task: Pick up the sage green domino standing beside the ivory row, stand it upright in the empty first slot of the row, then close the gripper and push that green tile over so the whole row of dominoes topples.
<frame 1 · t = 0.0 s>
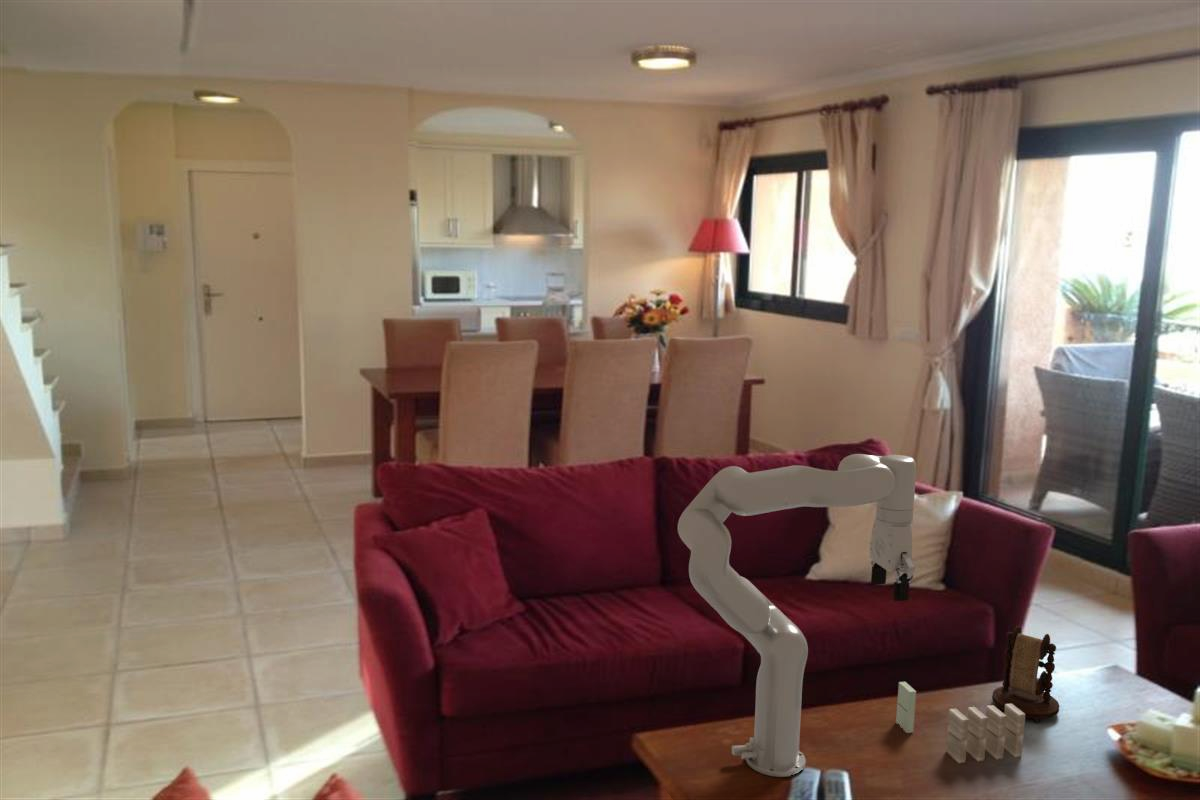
hand: (889, 591, 211), 37 cm above the table, tool pointing down, fingers open, 9 cm apart
domino 2: (955, 757, 215), on the table
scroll: (1024, 710, 237), on the table
domino 4: (992, 753, 217), on the table
domino 1: (904, 727, 228), on the table
domino 5: (1011, 751, 218), on the table
domino 3: (974, 755, 216), on the table
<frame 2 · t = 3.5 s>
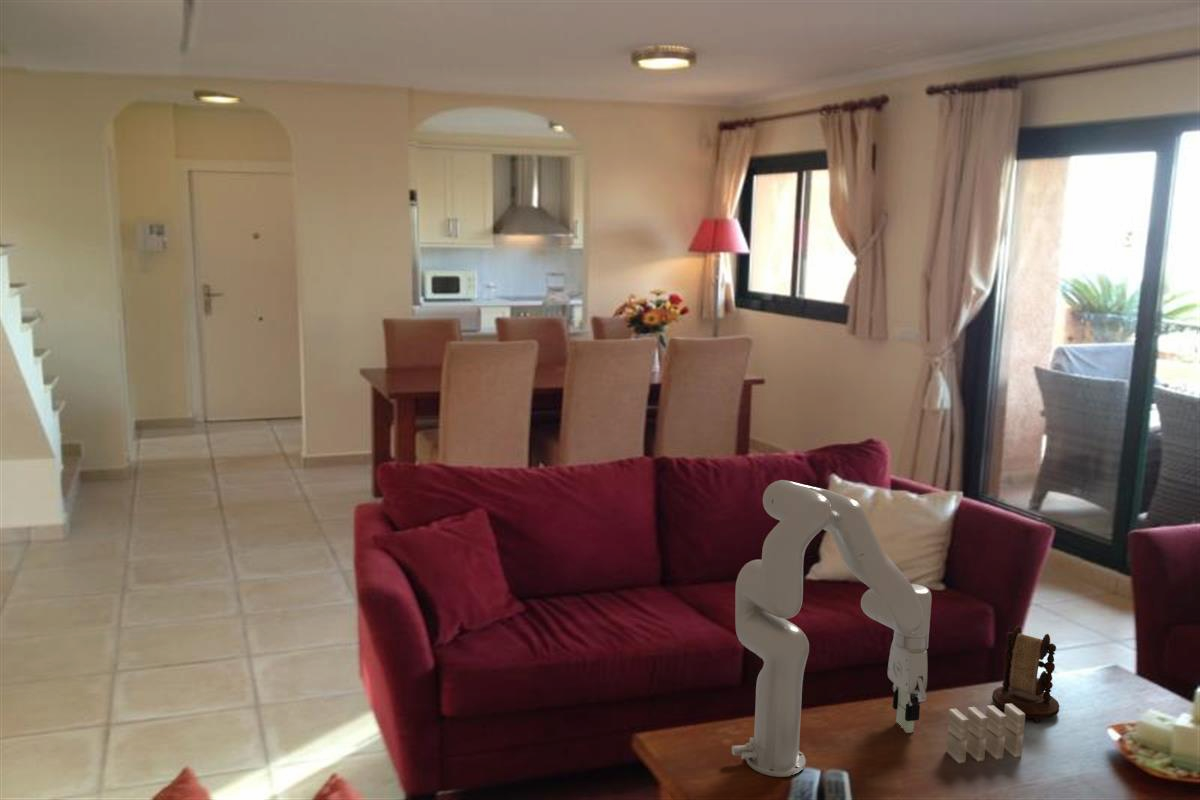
hand: (905, 713, 227), 3 cm above the table, tool pointing down, fingers closed on domino 1, 4 cm apart
domino 1: (904, 727, 228), on the table, touching gripper
everything else where it was.
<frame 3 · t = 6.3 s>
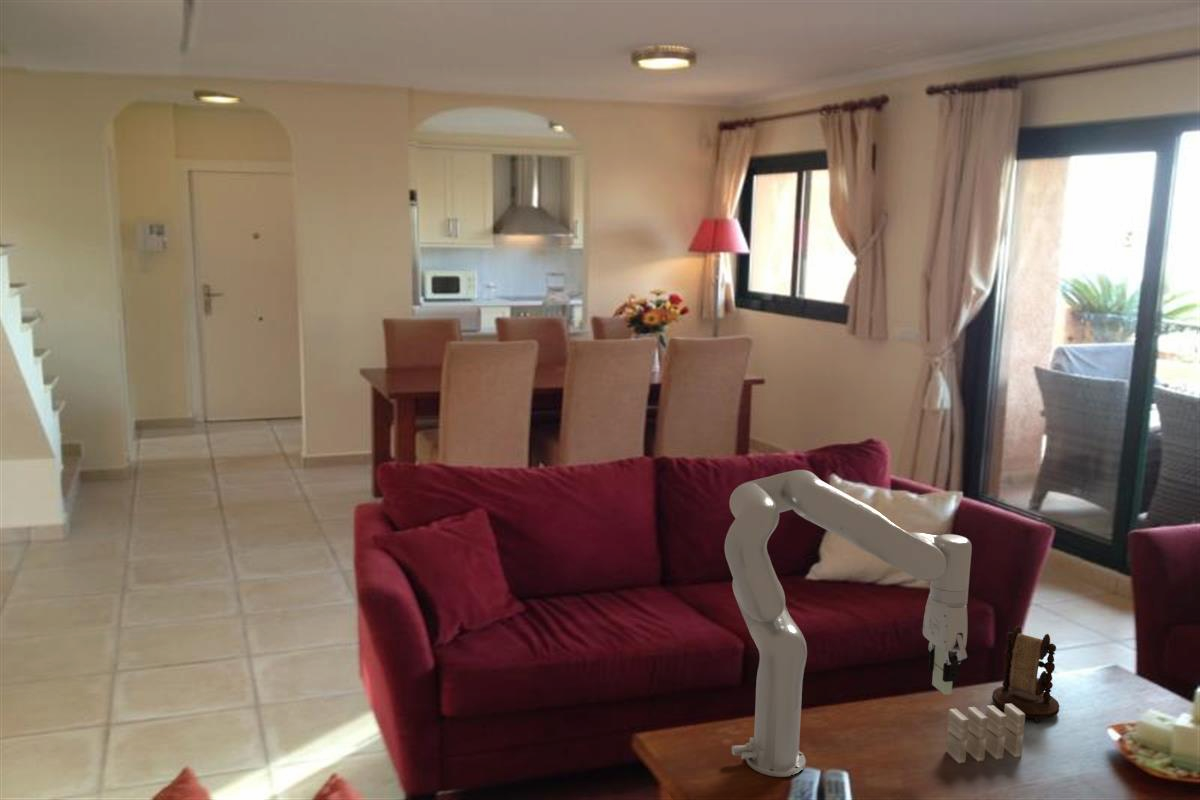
hand: (942, 674, 211), 19 cm above the table, tool pointing down, fingers closed on domino 1, 4 cm apart
domino 1: (941, 689, 212), point 16 cm above the table, touching gripper
everything else where it was.
when the fingers open (4 cm above the table, at t = 9.6 s): domino 1 stays where it is, on the table.
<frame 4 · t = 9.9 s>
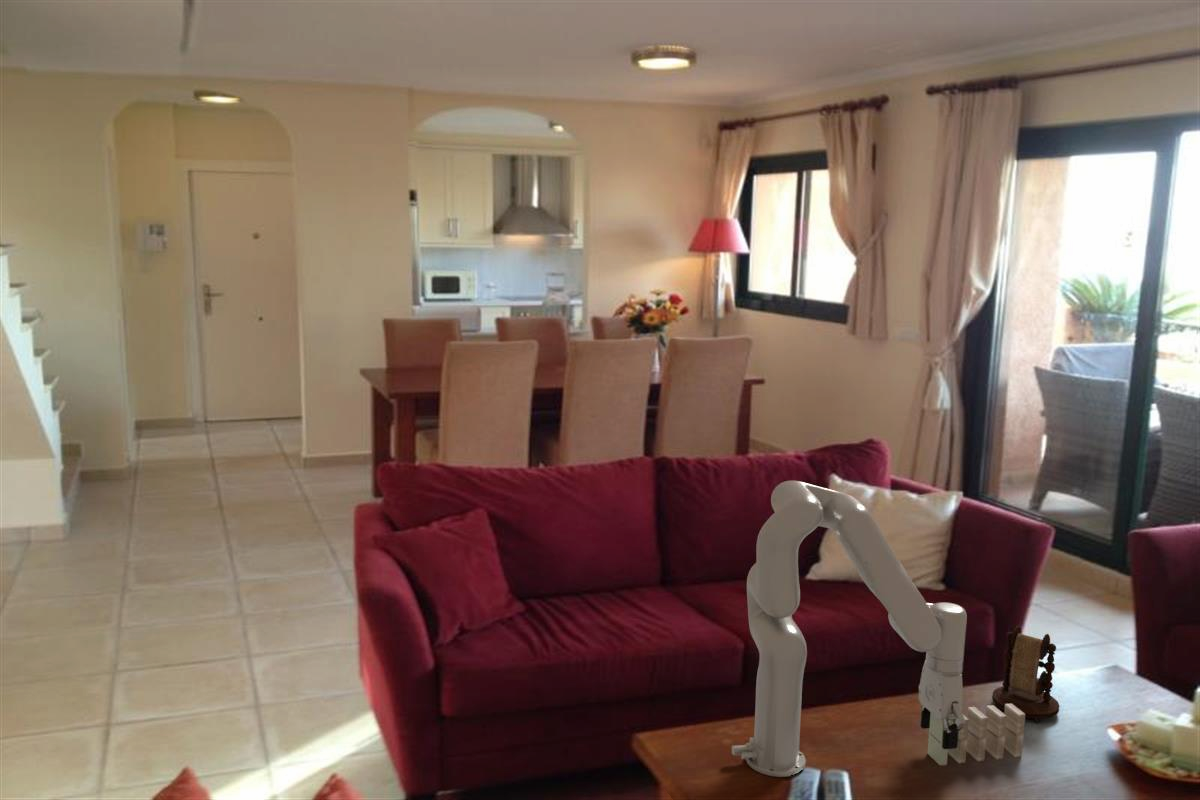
hand: (938, 737, 213), 5 cm above the table, tool pointing down, fingers open, 8 cm apart
domino 1: (937, 759, 214), on the table
everything else where it was.
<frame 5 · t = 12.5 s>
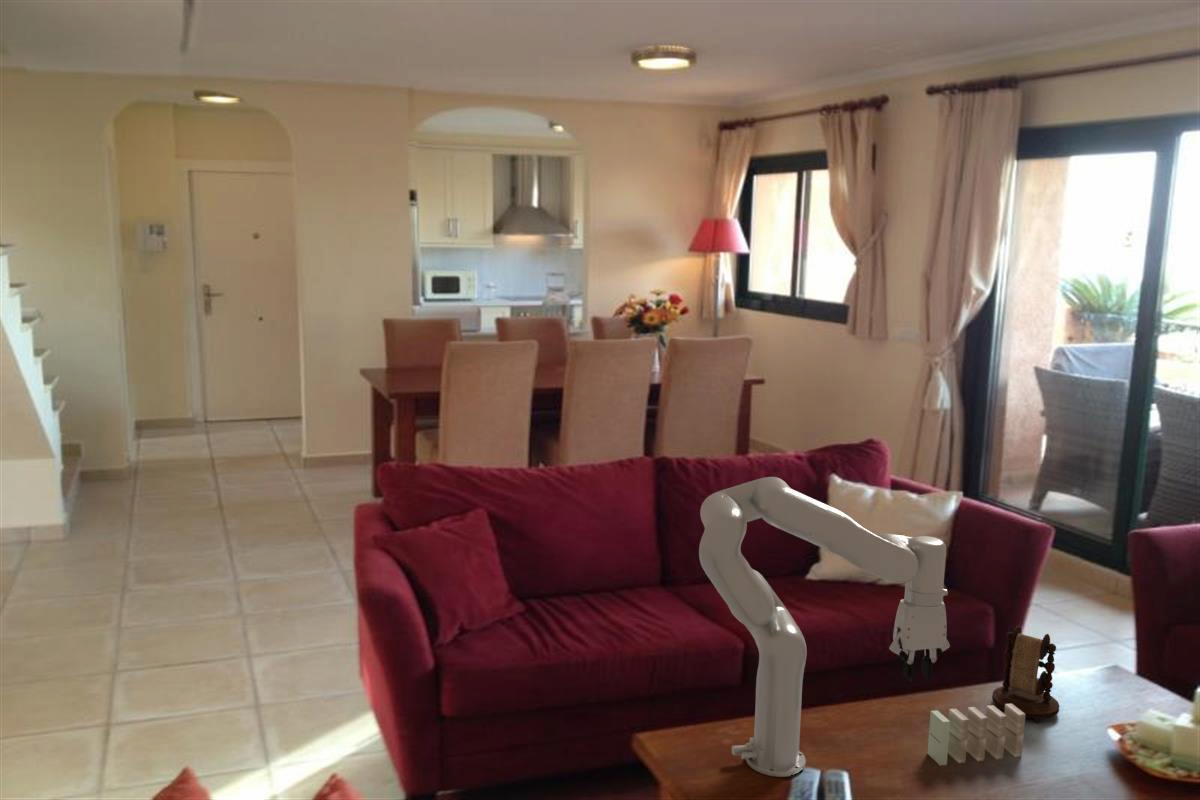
hand: (917, 677, 210), 19 cm above the table, tool pointing down, fingers open, 3 cm apart
nothing on the table moved.
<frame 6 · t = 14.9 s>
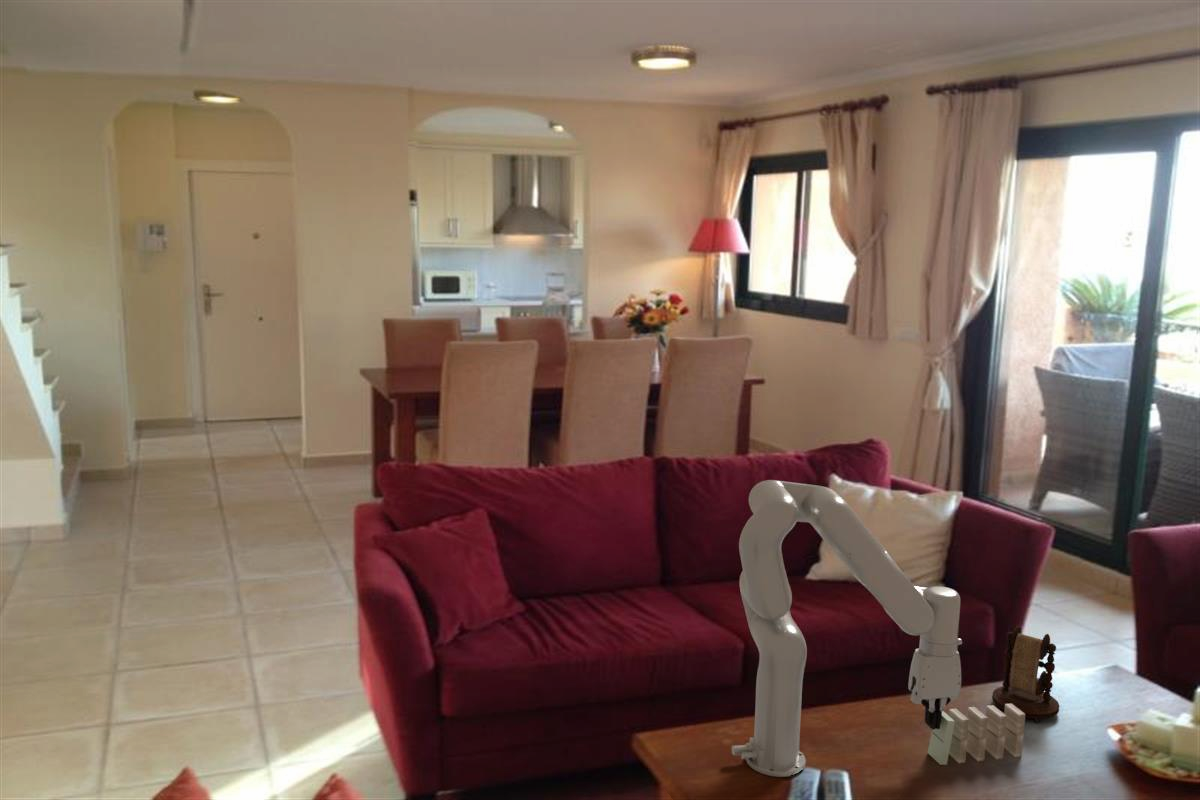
hand: (932, 726, 213), 8 cm above the table, tool pointing down, fingers closed
domino 1: (937, 758, 214), on the table, tilted 6°
everything else where it was.
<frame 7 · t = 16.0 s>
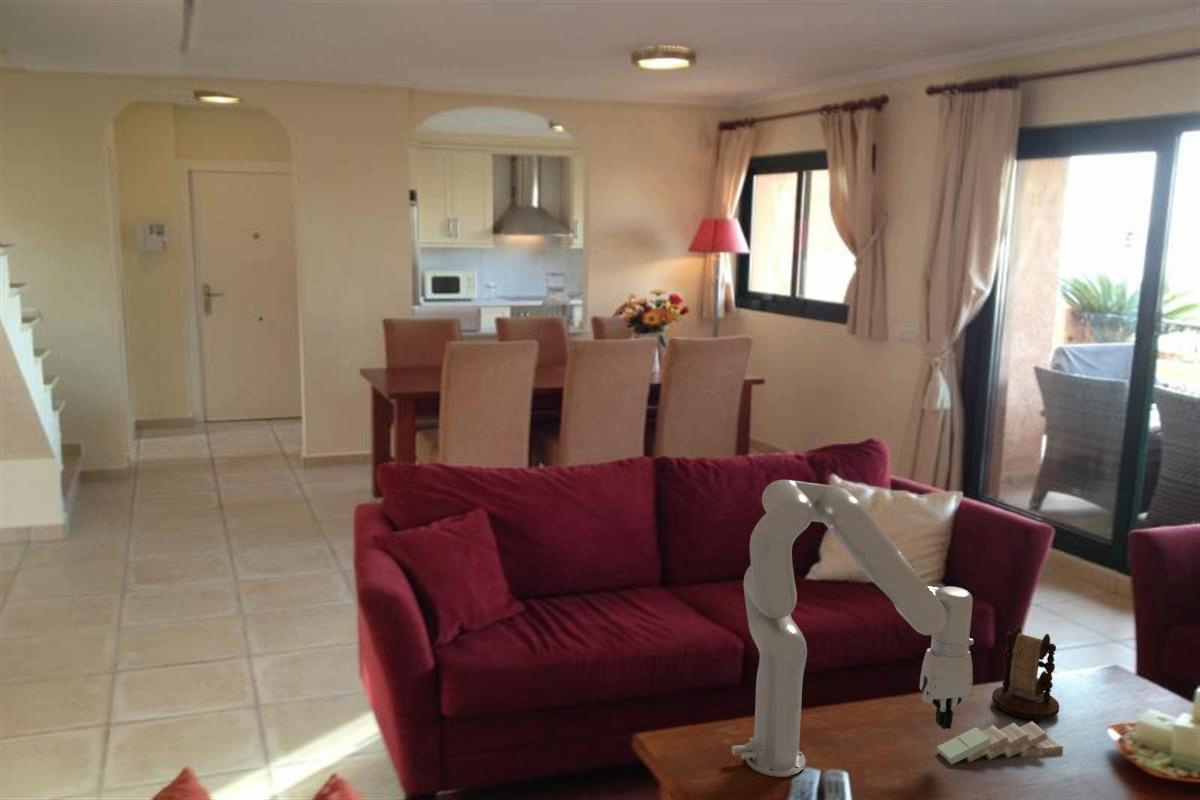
hand: (943, 725, 213), 8 cm above the table, tool pointing down, fingers closed
domino 2: (961, 753, 215), point 1 cm above the table, tilted 69°, touching domino 1, domino 3
domino 4: (999, 749, 217), point 1 cm above the table, tilted 67°, touching domino 3, domino 5
domino 1: (944, 755, 214), point 1 cm above the table, tilted 68°, touching domino 2
domino 5: (1015, 748, 218), point 1 cm above the table, tilted 90°, touching domino 4
domino 3: (981, 751, 216), point 1 cm above the table, tilted 67°, touching domino 2, domino 4
everything else where it was.
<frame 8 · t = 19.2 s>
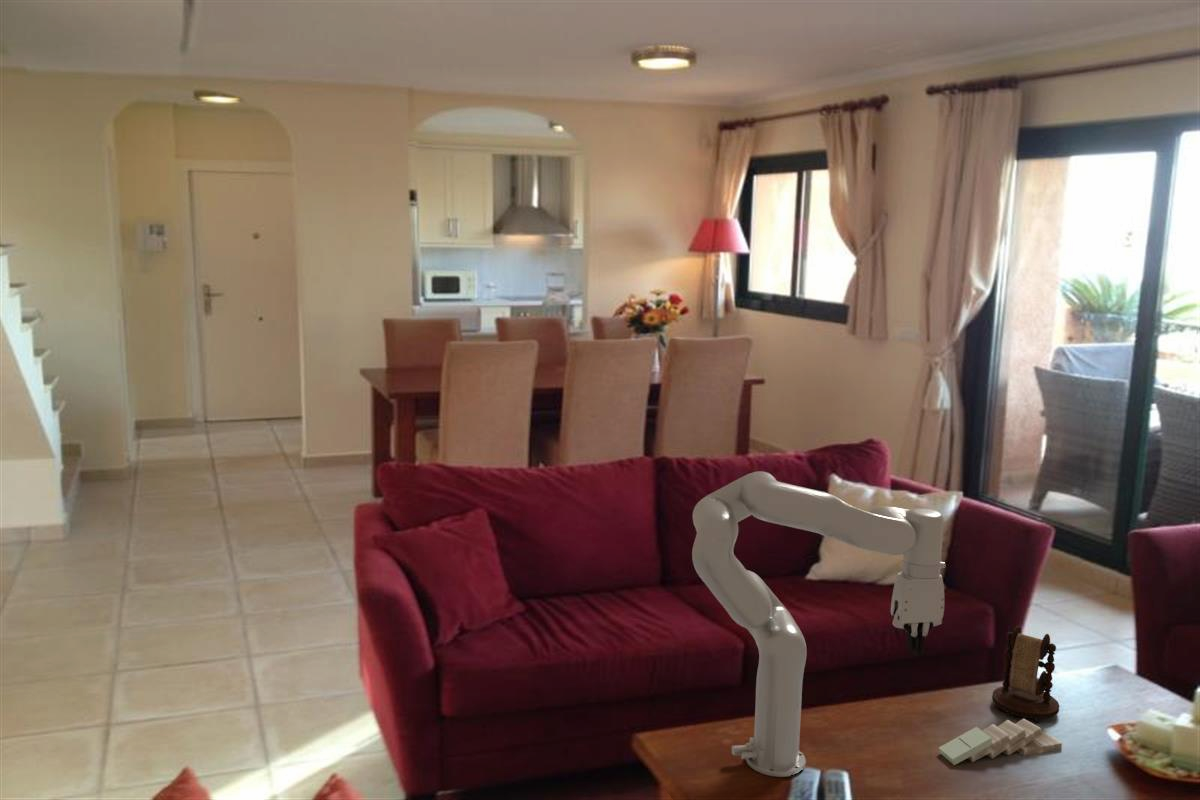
hand: (915, 651, 209), 25 cm above the table, tool pointing down, fingers closed
domino 4: (999, 747, 218), point 1 cm above the table, tilted 71°, touching domino 3, domino 5
at the end: domino 1 inside the target area (1.1 cm from its centre), point 0.7 cm above the table; domino 5 tilted 89°; the gripper is holding nothing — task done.
